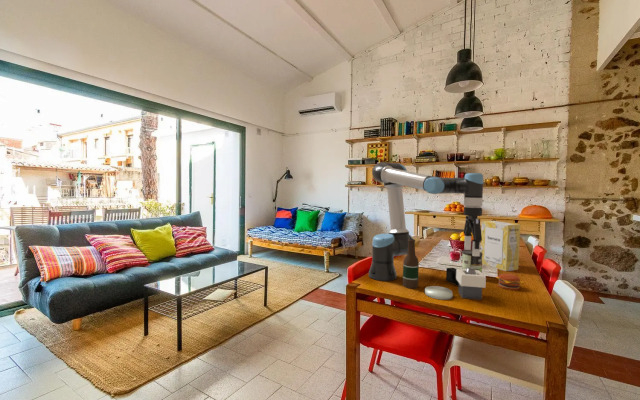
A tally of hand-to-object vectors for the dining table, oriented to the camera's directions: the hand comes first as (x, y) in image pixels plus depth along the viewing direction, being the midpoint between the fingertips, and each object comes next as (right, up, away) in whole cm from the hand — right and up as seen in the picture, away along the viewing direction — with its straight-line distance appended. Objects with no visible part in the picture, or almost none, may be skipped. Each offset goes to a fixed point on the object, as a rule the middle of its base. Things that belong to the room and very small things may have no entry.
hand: (471, 252), depth 136 cm
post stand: (0, -20, +1) cm, 20 cm away
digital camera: (+1, -20, +19) cm, 27 cm away
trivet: (-14, -20, +2) cm, 25 cm away
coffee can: (+16, -19, +30) cm, 39 cm away
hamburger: (+26, -20, +14) cm, 36 cm away
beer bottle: (-24, -20, +14) cm, 34 cm away
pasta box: (+44, -18, +52) cm, 70 cm away
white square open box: (0, -14, +1) cm, 14 cm away
